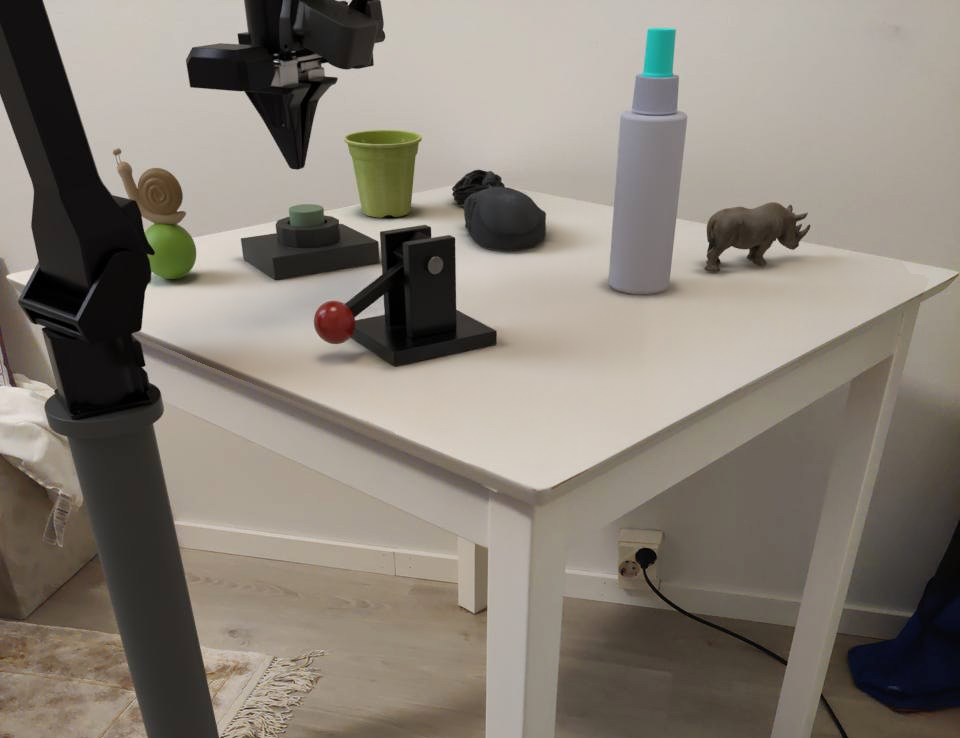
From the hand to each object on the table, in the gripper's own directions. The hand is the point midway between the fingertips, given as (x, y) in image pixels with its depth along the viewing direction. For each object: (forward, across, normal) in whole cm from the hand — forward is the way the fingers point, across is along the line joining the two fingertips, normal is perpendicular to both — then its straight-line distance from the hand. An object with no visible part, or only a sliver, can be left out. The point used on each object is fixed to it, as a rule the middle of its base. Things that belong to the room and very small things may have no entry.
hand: (297, 168), depth 89 cm
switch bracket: (+12, -5, -16) cm, 20 cm away
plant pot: (+12, +33, +12) cm, 37 cm away
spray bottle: (+12, +19, -27) cm, 35 cm away
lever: (+8, -8, -14) cm, 18 cm away
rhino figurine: (+12, +32, -35) cm, 49 cm away
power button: (+8, +11, +8) cm, 16 cm away
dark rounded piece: (+12, +37, -1) cm, 39 cm away
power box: (+12, +11, +8) cm, 18 cm away
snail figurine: (+12, -1, +17) cm, 21 cm away
